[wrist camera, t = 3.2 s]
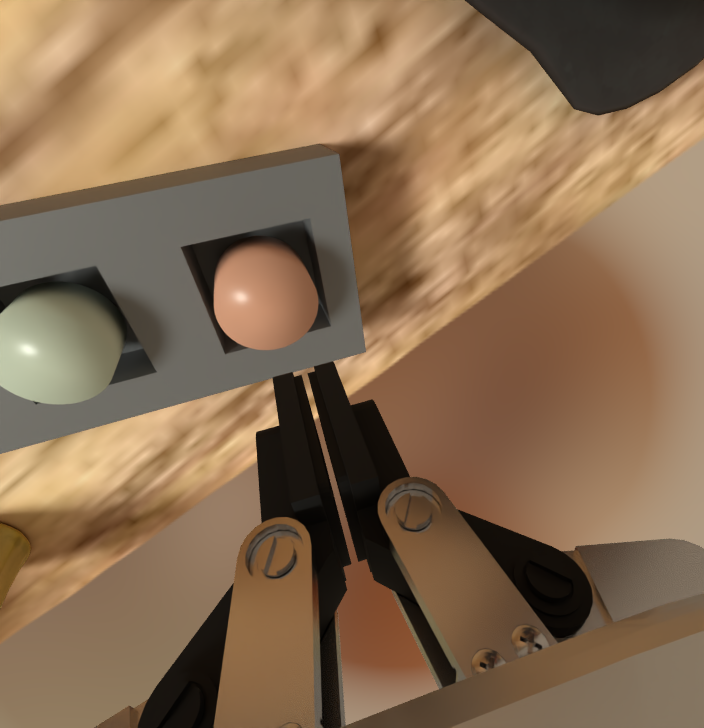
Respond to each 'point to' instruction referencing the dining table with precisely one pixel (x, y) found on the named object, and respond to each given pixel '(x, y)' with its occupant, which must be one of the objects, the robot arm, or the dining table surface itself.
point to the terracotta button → (263, 293)
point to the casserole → (605, 45)
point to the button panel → (181, 278)
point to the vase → (11, 557)
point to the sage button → (60, 343)
